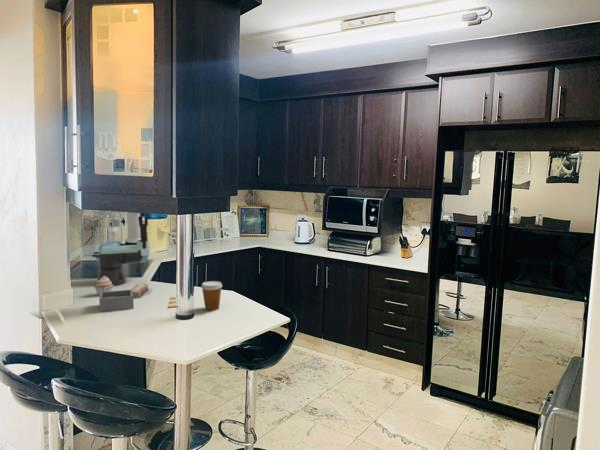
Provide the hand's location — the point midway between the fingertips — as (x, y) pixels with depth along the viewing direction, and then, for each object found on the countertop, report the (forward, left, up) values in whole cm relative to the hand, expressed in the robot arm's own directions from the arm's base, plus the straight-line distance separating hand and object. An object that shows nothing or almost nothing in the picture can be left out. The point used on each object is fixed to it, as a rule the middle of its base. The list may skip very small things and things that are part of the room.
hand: (144, 254), depth 211 cm
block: (-2, -16, -24) cm, 28 cm away
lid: (0, -8, +2) cm, 8 cm away
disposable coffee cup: (+15, +28, -25) cm, 41 cm away
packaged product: (-21, -3, -25) cm, 33 cm away
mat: (-1, +7, -25) cm, 26 cm away
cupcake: (-27, -19, -25) cm, 41 cm away
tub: (0, -13, -25) cm, 28 cm away
